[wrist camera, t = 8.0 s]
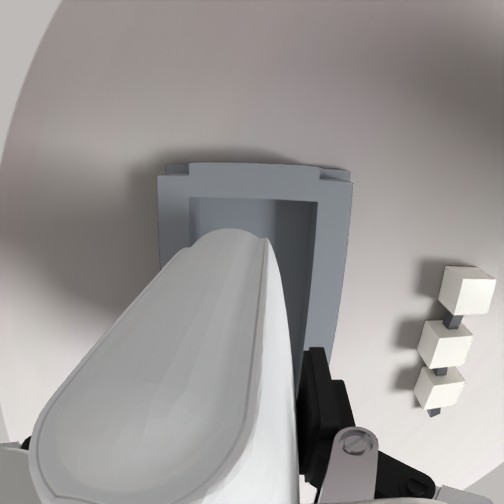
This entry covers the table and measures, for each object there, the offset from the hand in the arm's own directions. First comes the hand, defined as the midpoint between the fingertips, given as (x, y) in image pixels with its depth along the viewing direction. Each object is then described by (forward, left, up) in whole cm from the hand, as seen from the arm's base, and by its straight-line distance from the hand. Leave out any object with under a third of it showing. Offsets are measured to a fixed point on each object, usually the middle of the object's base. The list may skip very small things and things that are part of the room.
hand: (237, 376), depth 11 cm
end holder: (0, 0, -8) cm, 8 cm away
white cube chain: (-14, +4, -8) cm, 17 cm away
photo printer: (0, 0, -3) cm, 3 cm away
